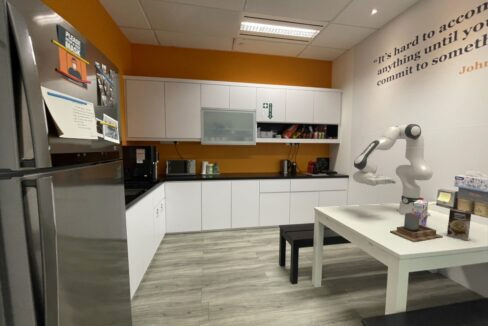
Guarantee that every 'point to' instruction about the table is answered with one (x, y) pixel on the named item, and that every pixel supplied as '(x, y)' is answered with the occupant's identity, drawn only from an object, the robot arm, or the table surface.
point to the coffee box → (459, 224)
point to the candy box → (421, 211)
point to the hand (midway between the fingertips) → (390, 182)
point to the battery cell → (411, 222)
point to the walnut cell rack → (417, 234)
